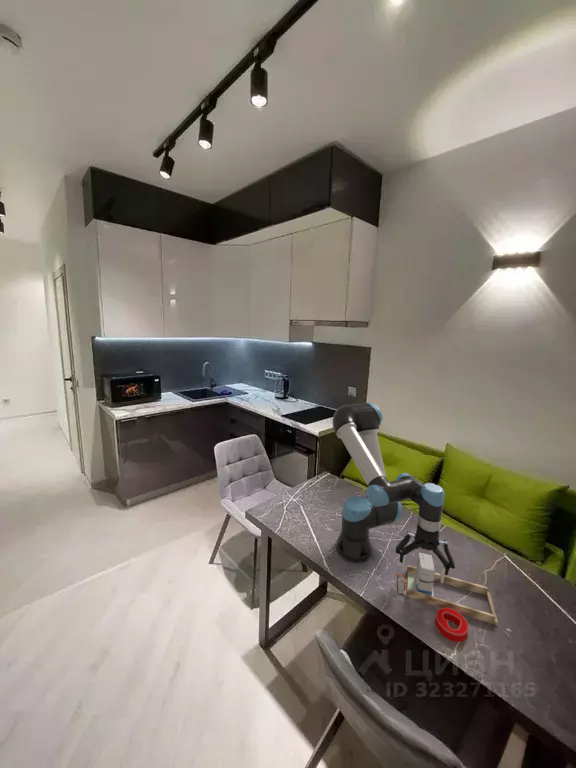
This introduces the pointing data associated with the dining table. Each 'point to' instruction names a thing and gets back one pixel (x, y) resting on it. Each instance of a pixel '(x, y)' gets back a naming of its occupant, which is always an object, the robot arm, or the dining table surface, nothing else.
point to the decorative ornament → (456, 618)
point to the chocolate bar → (402, 584)
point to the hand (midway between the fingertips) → (421, 574)
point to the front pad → (413, 582)
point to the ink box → (425, 574)
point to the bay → (448, 604)
